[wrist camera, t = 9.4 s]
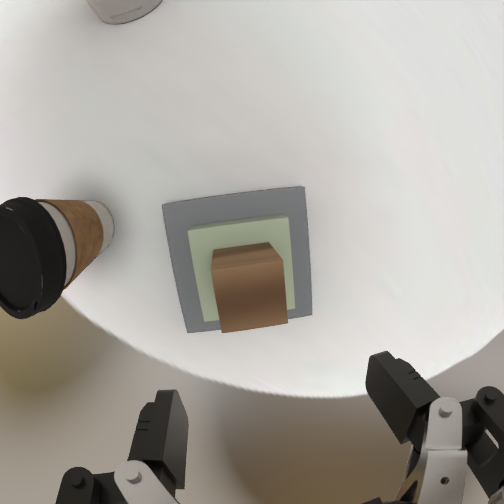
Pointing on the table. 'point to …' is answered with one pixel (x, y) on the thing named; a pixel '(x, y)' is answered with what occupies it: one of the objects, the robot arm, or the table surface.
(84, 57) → the table surface
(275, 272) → the walnut block
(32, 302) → the coffee cup
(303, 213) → the stack base
